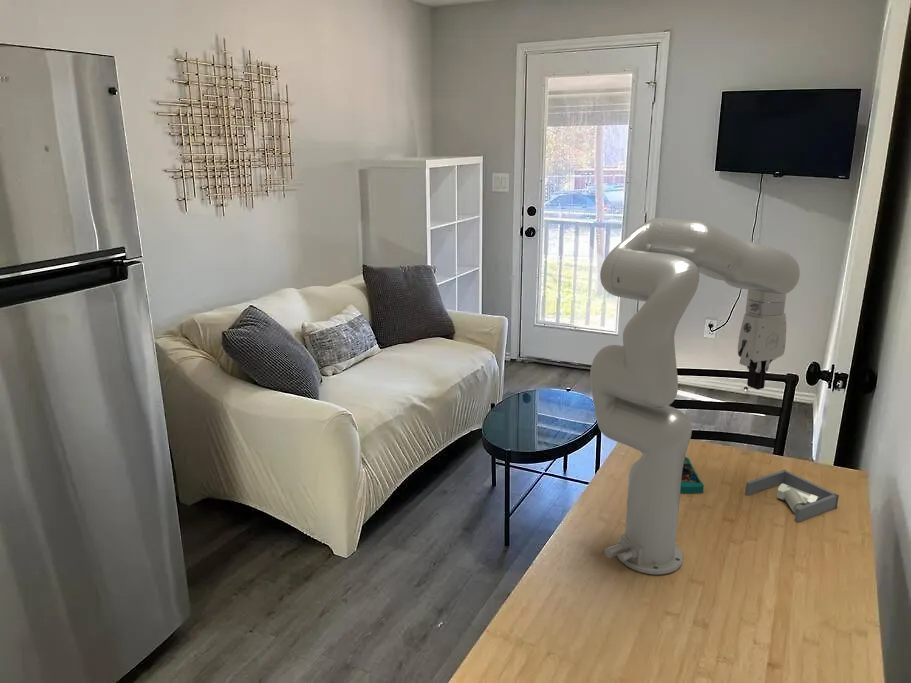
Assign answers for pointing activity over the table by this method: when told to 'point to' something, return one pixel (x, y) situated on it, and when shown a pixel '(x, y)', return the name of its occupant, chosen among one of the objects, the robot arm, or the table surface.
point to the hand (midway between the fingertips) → (755, 387)
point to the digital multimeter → (690, 479)
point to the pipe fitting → (795, 496)
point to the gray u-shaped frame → (788, 478)
